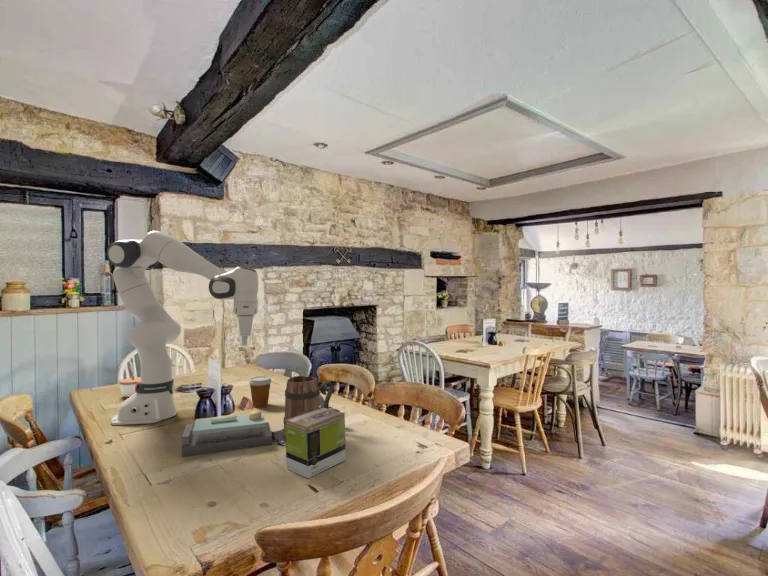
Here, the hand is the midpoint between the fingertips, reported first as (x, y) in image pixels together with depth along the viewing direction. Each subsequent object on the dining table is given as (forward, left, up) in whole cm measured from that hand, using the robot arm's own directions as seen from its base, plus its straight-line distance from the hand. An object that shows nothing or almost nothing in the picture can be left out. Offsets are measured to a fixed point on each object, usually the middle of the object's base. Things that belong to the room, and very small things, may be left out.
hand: (244, 344), depth 154 cm
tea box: (+19, -45, -30) cm, 58 cm away
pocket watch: (+31, +3, -30) cm, 43 cm away
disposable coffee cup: (+7, +21, -30) cm, 37 cm away
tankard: (+22, -19, -30) cm, 42 cm away
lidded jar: (-49, +58, -30) cm, 81 cm away
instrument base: (-5, -18, -30) cm, 36 cm away
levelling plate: (-5, -18, -24) cm, 31 cm away
